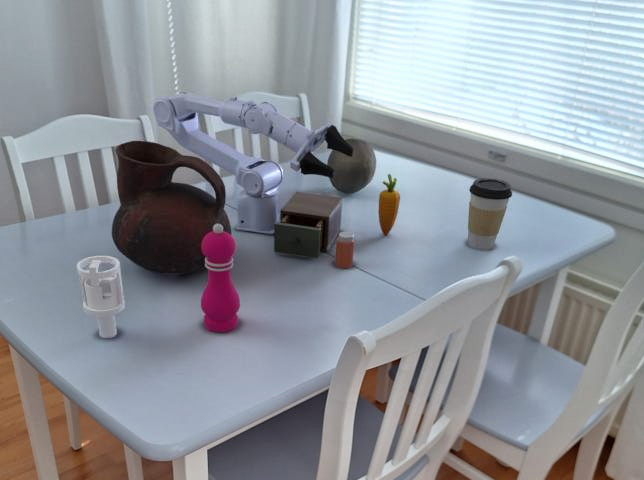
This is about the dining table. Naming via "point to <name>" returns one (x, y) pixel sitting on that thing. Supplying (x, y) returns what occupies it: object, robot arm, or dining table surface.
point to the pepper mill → (219, 282)
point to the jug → (164, 209)
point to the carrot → (388, 206)
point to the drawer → (299, 236)
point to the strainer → (102, 292)
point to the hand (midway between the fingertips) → (343, 163)
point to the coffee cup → (486, 211)
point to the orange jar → (344, 250)
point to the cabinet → (317, 212)
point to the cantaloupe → (353, 167)
